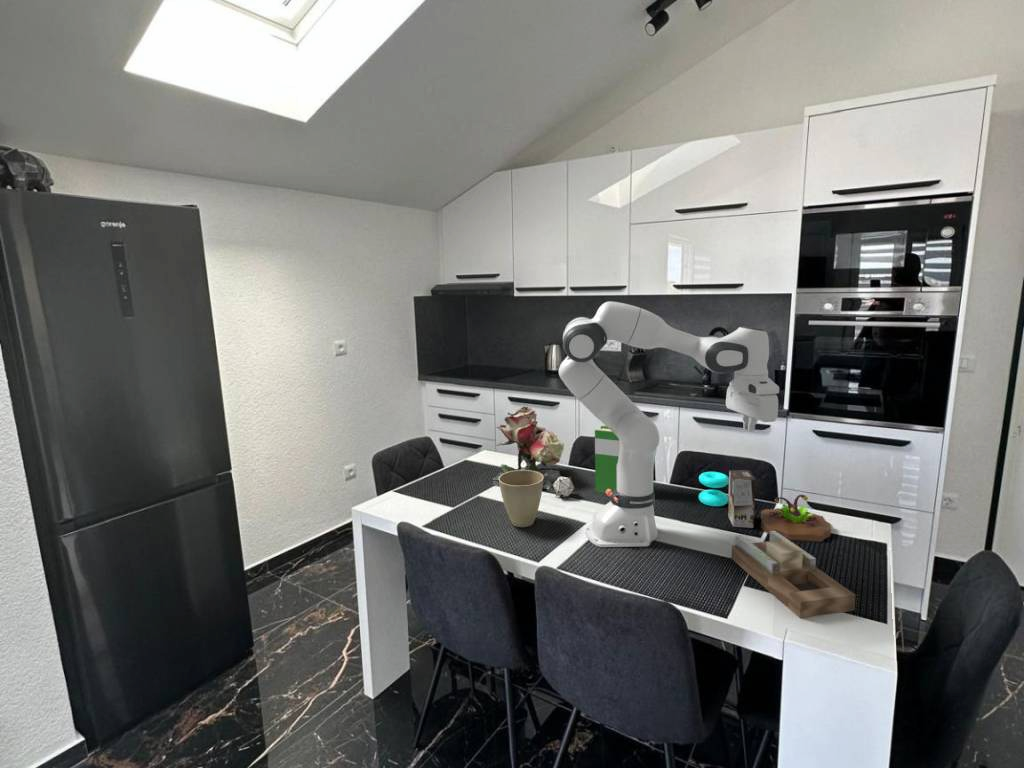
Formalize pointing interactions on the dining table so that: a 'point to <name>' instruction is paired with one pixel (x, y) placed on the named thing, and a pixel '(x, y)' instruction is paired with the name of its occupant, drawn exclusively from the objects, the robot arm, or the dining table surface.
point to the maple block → (785, 555)
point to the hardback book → (606, 459)
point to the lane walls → (764, 558)
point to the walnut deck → (799, 587)
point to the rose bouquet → (531, 444)
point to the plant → (795, 522)
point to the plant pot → (521, 495)
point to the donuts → (715, 482)
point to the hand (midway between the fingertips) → (749, 430)
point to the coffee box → (741, 498)
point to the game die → (563, 486)
